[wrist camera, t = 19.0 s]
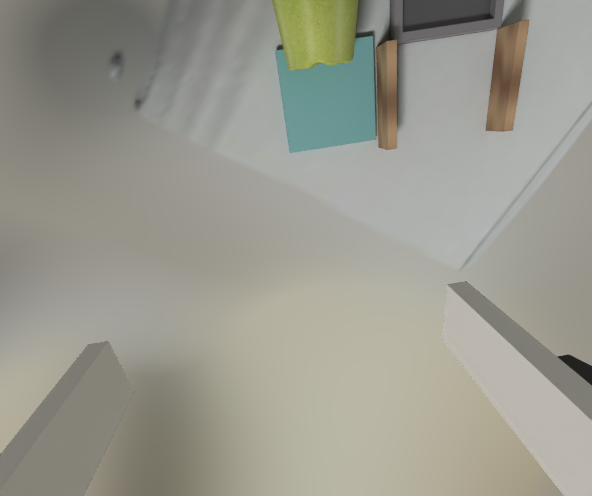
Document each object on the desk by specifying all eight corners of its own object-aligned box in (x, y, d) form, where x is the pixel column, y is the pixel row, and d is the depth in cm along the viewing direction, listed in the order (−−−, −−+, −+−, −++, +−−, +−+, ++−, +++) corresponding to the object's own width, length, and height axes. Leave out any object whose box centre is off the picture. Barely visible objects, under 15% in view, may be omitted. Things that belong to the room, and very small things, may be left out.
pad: (275, 51, 30) (275, 50, 30) (371, 37, 31) (373, 35, 30) (289, 152, 34) (290, 152, 34) (374, 139, 35) (375, 139, 34)
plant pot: (321, 66, 34) (313, -36, 29) (393, 56, 27) (397, -78, 23) (253, 77, 29) (232, -42, 25) (320, 68, 23) (307, -97, 18)
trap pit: (389, -28, 29) (394, -34, 27) (501, -45, 29) (510, -51, 28) (390, 45, 31) (394, 43, 30) (492, 30, 31) (501, 26, 30)
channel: (376, 47, 31) (386, 41, 28) (506, 28, 31) (529, 19, 28) (378, 147, 35) (387, 149, 32) (493, 129, 35) (512, 130, 33)
